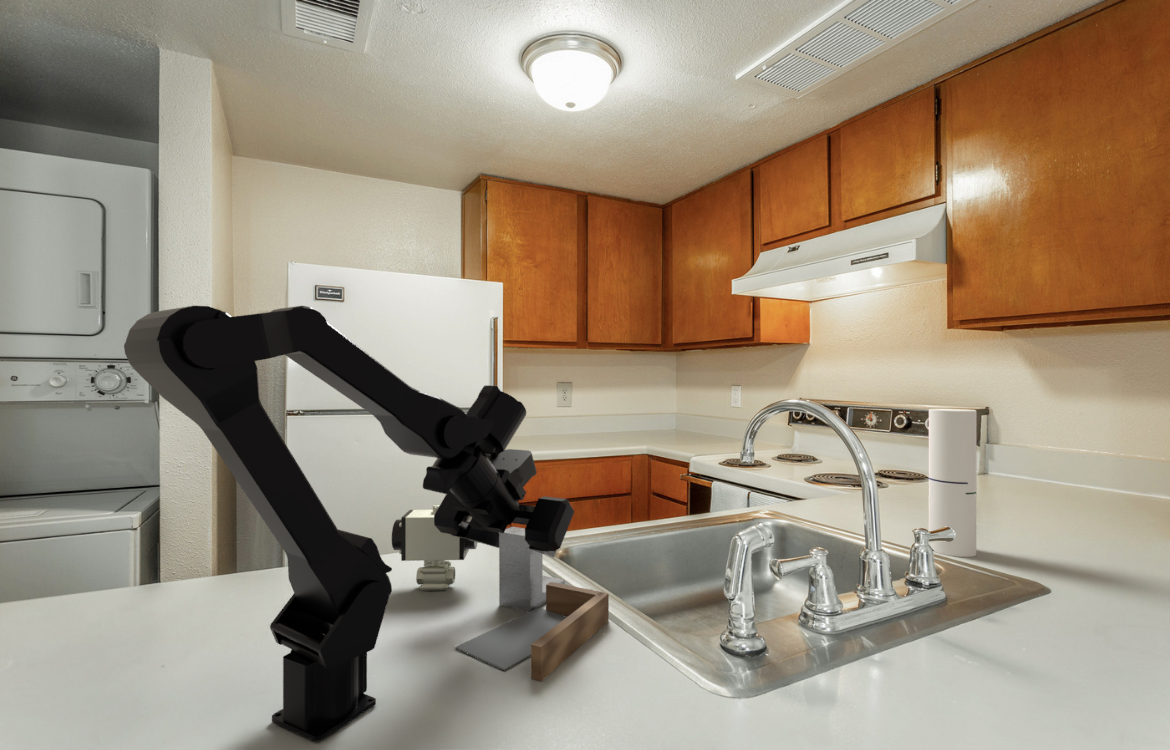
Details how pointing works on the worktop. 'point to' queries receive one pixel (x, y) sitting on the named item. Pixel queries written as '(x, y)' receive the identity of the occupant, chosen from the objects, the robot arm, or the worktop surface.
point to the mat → (511, 639)
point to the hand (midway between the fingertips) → (527, 549)
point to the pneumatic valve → (429, 548)
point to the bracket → (521, 573)
